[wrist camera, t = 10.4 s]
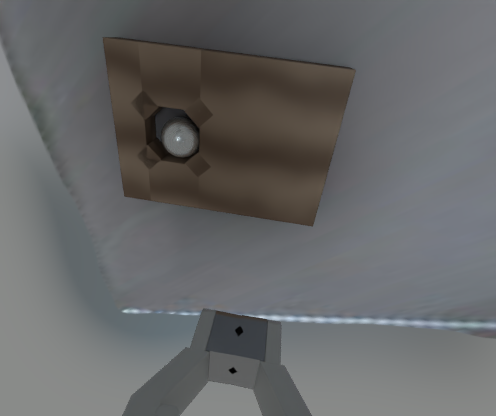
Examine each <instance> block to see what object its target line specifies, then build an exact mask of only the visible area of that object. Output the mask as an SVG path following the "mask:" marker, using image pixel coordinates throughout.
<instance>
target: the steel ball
mask: <svg viewBox="0 0 496 416" xmlns="http://www.w3.org/2000/svg"><path fill="white" fill-rule="evenodd" d="M199 139H200V130H199V128H198V127H197V125H196V124H195V123H194V122H193V121H191V120H190V119H187V118H184V117H176V118H173V119H171V120H169V121H168V122H167V123H166V124H165V125H164V127H163V129H162V132H161V140H162V144H163V146H164V148H165V149H166V150H167V151H168V152H169V153H170V154H172V155H174V156H176V157H188V156H190V155H192V154H194V153H195V152H196V151H197V150H198V148H199Z"/></svg>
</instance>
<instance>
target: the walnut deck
mask: <svg viewBox="0 0 496 416" xmlns="http://www.w3.org/2000/svg"><path fill="white" fill-rule="evenodd" d="M103 43H104V51H105V58H106V65H107V73H108V80H109V87H110V95H111V102H112V109H113V117H114V124H115V131H116V139H117V146H118V153H119V161H120V168H121V175H122V183H123V190H124V196H125V197H131V198H138V199H144V200H150V201H156V202H163V203H169V204H175V205H182V206H188V207H194V208H200V209H207V210H213V211H219V212H226V213H232V214H238V215H244V216H251V217H257V218H263V219H270V220H276V221H282V222H289V223H295V224H301V225H307V226H313V224H314V220H315V217H316V213H317V210H318V206H319V202H320V199H321V195H322V191H323V188H324V184H325V181H326V177H327V173H328V170H329V166H330V162H331V159H332V155H333V151H334V148H335V144H336V141H337V137H338V133H339V130H340V126H341V122H342V119H343V115H344V112H345V108H346V104H347V101H348V97H349V93H350V90H351V86H352V82H353V79H354V75H355V72H356V70H354V69H352V68H350V67H342V66H334V65H327V64H319V63H311V62H304V61H296V60H288V59H280V58H273V57H265V56H257V55H249V54H242V53H234V52H226V51H218V50H211V49H203V48H195V47H187V46H180V45H172V44H164V43H157V42H149V41H141V40H133V39H126V38H118V37H103ZM163 107H168V108H175V109H182V110H185V112H186V114H187V115H188V116H189V117H190V118H191V119H192V121H193V122H194V123H195V124H196V125H197V127H198V128H199V127H200V139H199V150H197V151H196V152H195V153H194V154H192V155H191V156H188V157H176V156H174V155H172V154H170V153H169V152H168V151H167V150H166V149H165V148H164V146H163V144H162V143H161V142H160V140H159V139H158V138H156V128H155V115H156V114H157V113H158V112H159V111H160V110H161V109H162V108H163Z"/></svg>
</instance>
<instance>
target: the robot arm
mask: <svg viewBox="0 0 496 416" xmlns="http://www.w3.org/2000/svg"><path fill="white" fill-rule="evenodd" d="M280 362H281V322H278V321H272V320H267V319H263V318H256V317H250V316H244V315H242V316H241V315H236V314H231V313H226V312H221V311H216V310H211V309H205V308H203V310H202V312H201V315H200V318H199V321H198V324H197V327H196V330H195V334H194V337H193V340H192V343H191V346H190V348H187V347H186V348H185V349H184V350H183V351H181V352H180V353H179V354H178V355H177V356H176V357H175V358H174V359H172V360H171V361H170V362H169V363H168V364H167V365H166V366H164V367H163V368H162V369H161V370H160V371H159V372H158V373H156V374H155V375H154V376H153V377H152V378H151V379H150V380H149V381H148V382H146V383H145V384H144V385H143V386H142V387H141V388H140V389H139V390H137V391H136V392H135V393H134V394H133V395H132V396H131V398H130V400H129V402H128V404H127V406H126V409H125V411H124V413H123V415H122V416H180V415H181V414H182V412H183V411H184V410H185V409H186V407H187V406H188V405H189V404H190V403H191V402H192V400H193V399H194V398H195V397H196V396H197V394H198V393H199V392H200V391H201V390H202V389H203V387H204V386H205V385H206V384H207V382H208V381H213V382H219V383H225V384H231V385H236V386H240V387H245V388H250V389H254V393H255V396H256V399H257V401H258V404H259V407H260V410H261V412H262V415H263V416H312V415H311V413H310V411H309V409H308V408H307V406H306V404H305V402H304V400H303V399H302V397H301V395H300V393H299V391H298V389H297V388H296V386H295V384H294V382H293V380H292V379H291V377H290V375H289V373H288V371H287V369H286V367H285V366H284V365H280Z"/></svg>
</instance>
